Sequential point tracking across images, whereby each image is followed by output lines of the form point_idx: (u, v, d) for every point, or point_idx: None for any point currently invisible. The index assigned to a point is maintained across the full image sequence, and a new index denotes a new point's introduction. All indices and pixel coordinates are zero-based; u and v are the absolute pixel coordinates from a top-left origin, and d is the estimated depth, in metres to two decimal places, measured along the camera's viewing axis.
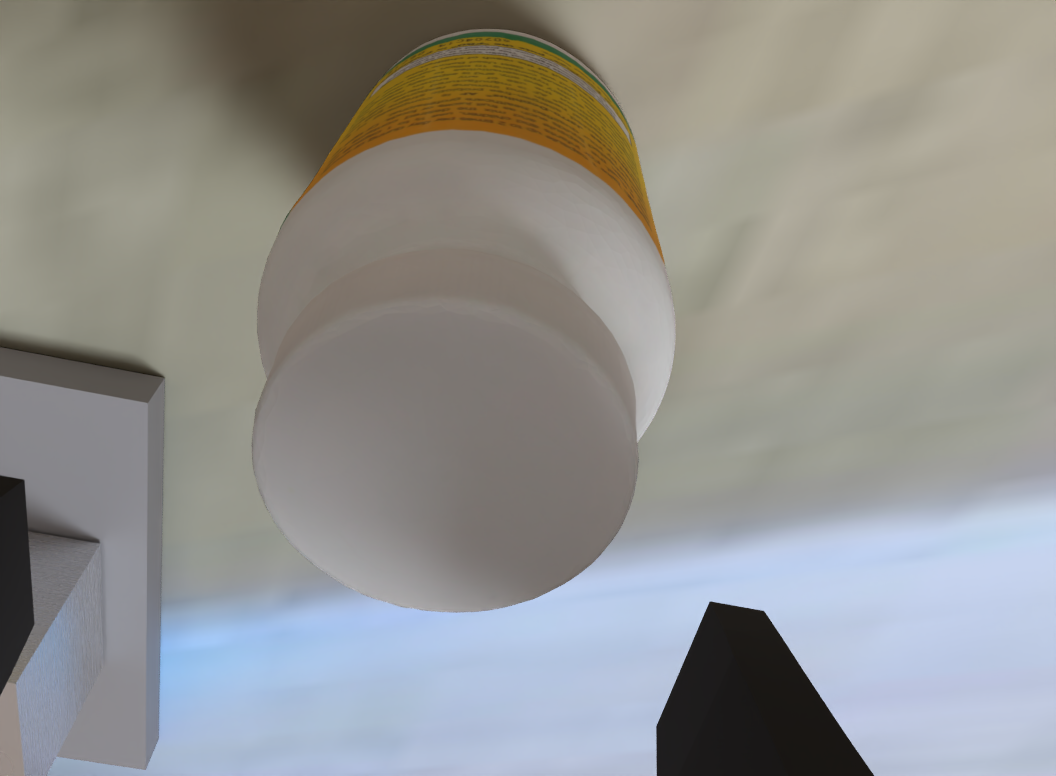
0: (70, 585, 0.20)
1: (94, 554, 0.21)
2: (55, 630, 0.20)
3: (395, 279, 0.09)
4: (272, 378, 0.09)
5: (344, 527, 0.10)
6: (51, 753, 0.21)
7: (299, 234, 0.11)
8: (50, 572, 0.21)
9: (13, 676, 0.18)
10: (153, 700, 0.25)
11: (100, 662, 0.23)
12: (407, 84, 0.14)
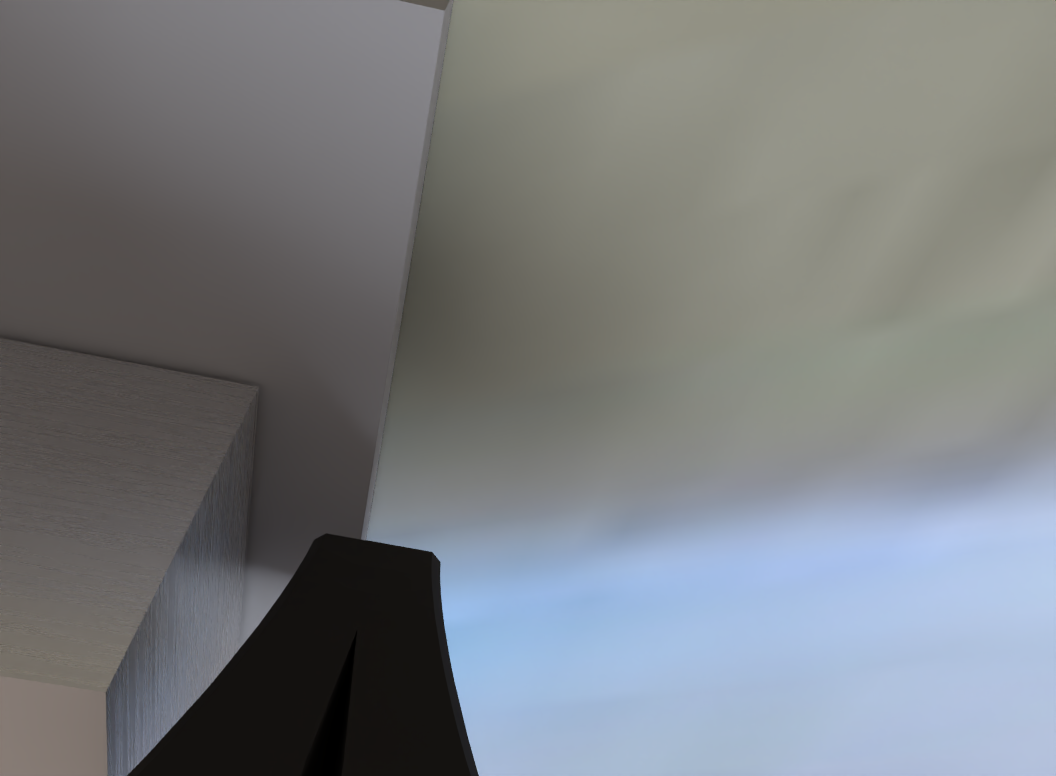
0: (211, 460, 0.09)
1: (250, 405, 0.10)
2: (185, 562, 0.08)
3: None
4: None
5: None
6: None
7: None
8: (161, 433, 0.09)
9: (98, 671, 0.07)
10: None
11: (235, 649, 0.12)
12: None
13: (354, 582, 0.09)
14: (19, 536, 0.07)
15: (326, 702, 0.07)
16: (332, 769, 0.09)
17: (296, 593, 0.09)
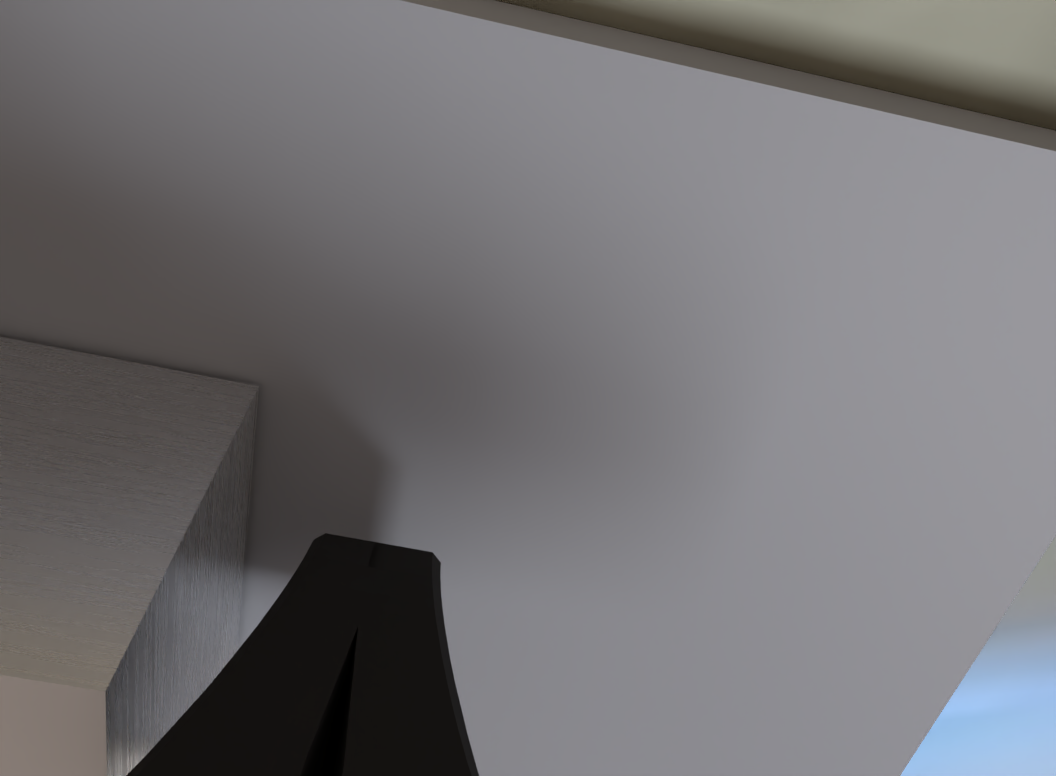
0: (211, 460, 0.09)
1: (250, 405, 0.10)
2: (185, 562, 0.08)
3: None
4: None
5: None
6: None
7: None
8: (161, 432, 0.09)
9: (97, 671, 0.07)
10: None
11: (234, 648, 0.12)
12: None
13: (354, 582, 0.09)
14: (20, 536, 0.07)
15: (325, 702, 0.07)
16: (332, 769, 0.09)
17: (296, 593, 0.09)
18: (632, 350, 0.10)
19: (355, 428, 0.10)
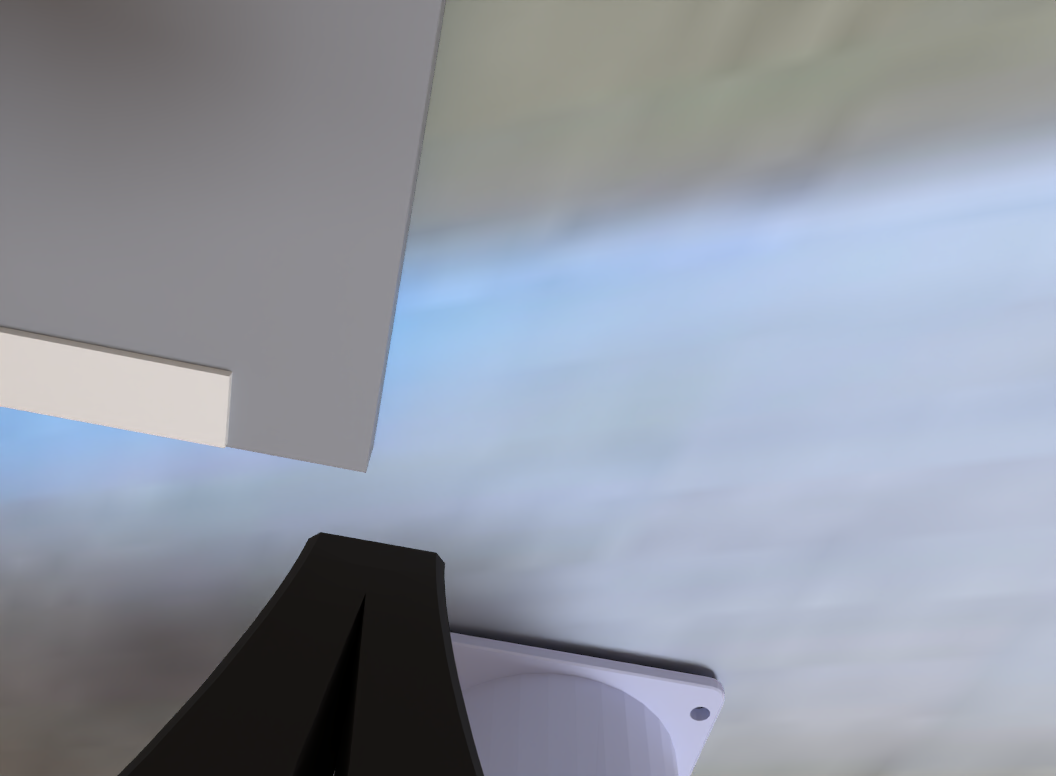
0: None
1: None
2: None
3: None
4: None
5: None
6: None
7: None
8: None
9: None
10: (383, 375, 0.20)
11: None
12: None
13: (348, 581, 0.09)
14: None
15: (319, 701, 0.07)
16: (337, 770, 0.09)
17: (290, 592, 0.09)
18: None
19: None
